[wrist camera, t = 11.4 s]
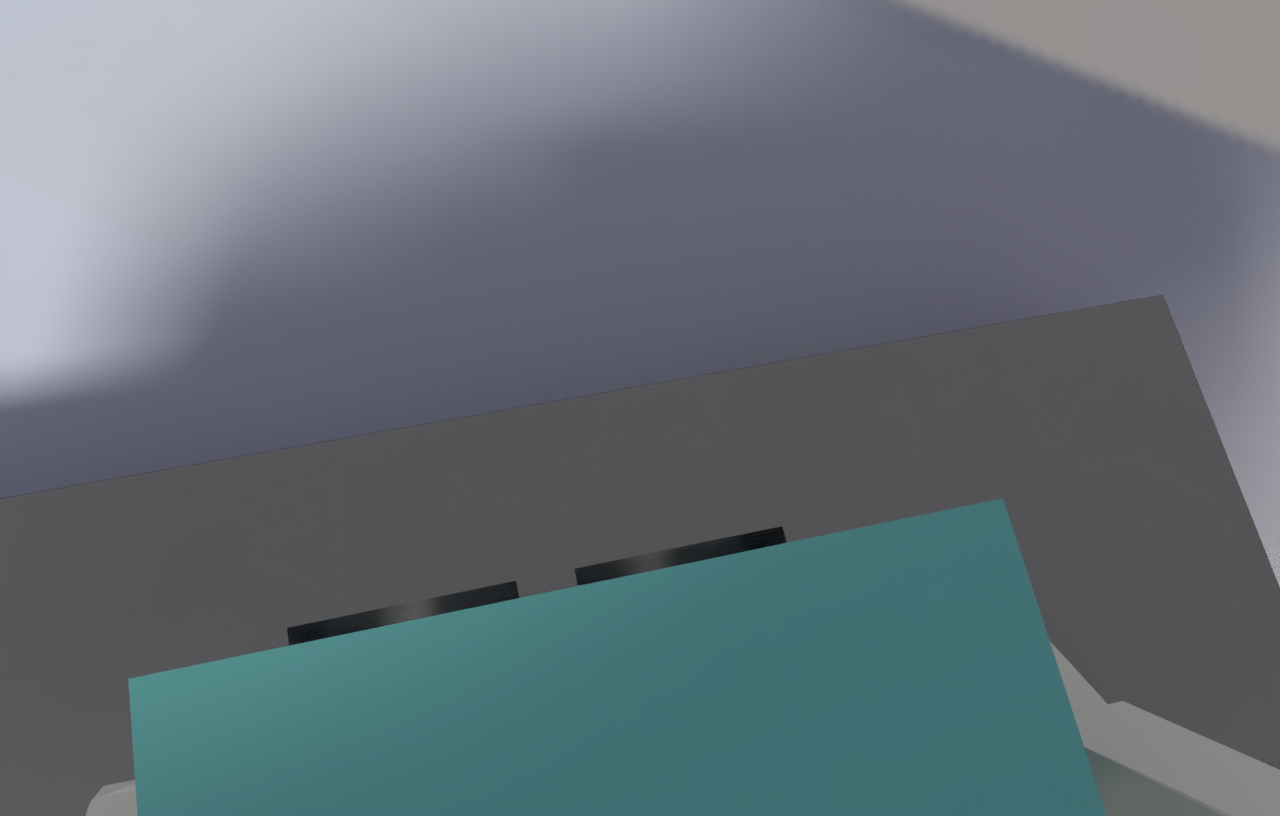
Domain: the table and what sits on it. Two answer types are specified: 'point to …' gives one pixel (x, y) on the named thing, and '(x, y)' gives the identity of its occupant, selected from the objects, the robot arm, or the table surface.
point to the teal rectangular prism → (656, 697)
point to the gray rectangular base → (665, 525)
